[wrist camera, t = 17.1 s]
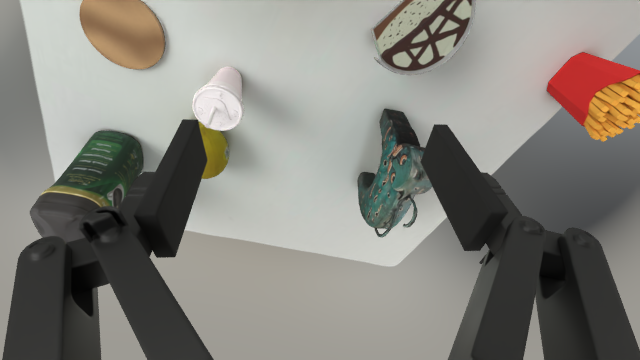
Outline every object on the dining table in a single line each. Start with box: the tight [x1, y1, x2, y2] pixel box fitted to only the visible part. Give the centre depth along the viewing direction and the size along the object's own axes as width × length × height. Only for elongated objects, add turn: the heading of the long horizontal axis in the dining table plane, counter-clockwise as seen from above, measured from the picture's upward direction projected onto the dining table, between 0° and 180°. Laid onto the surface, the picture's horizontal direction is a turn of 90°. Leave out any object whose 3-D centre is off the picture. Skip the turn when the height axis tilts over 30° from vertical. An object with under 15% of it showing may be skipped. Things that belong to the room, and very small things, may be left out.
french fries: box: [547, 52, 640, 142], centre depth 44 cm, size 9×4×13 cm, turn 159°
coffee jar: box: [30, 131, 143, 242], centre depth 46 cm, size 10×8×19 cm
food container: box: [371, 0, 476, 75], centre depth 38 cm, size 12×6×10 cm, turn 133°
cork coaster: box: [80, 0, 165, 69], centre depth 40 cm, size 10×10×1 cm
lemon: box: [198, 122, 229, 179], centre depth 49 cm, size 11×8×8 cm
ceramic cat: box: [358, 109, 432, 237], centre depth 49 cm, size 20×6×20 cm, turn 167°
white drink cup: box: [192, 67, 244, 131], centre depth 40 cm, size 6×6×14 cm
